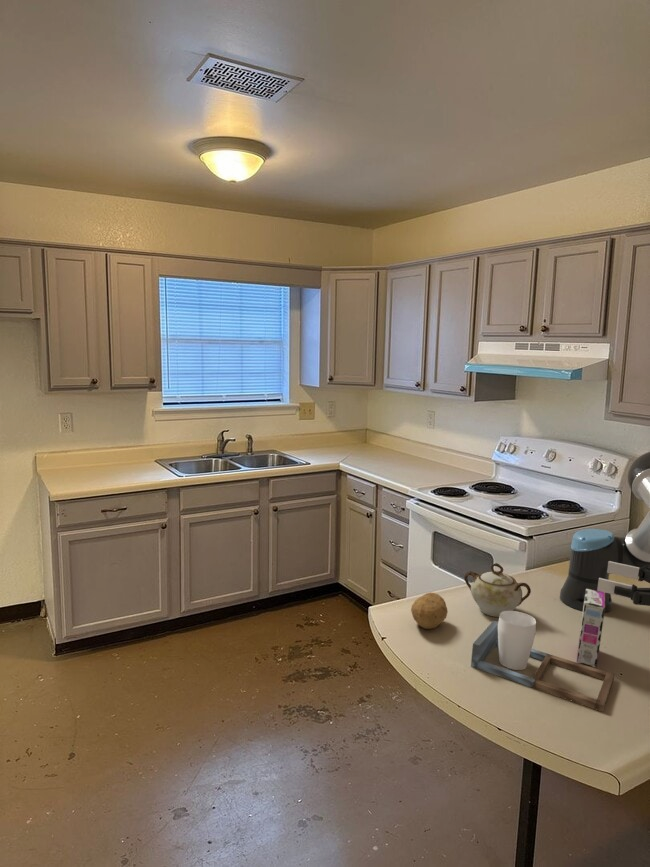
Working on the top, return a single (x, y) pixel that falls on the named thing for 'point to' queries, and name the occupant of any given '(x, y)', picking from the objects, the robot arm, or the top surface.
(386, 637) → the top surface
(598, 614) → the candy bar box
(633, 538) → the robot arm
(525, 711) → the top surface
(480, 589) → the sugar bowl
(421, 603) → the potato
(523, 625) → the cup
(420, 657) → the top surface
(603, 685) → the bay frame
